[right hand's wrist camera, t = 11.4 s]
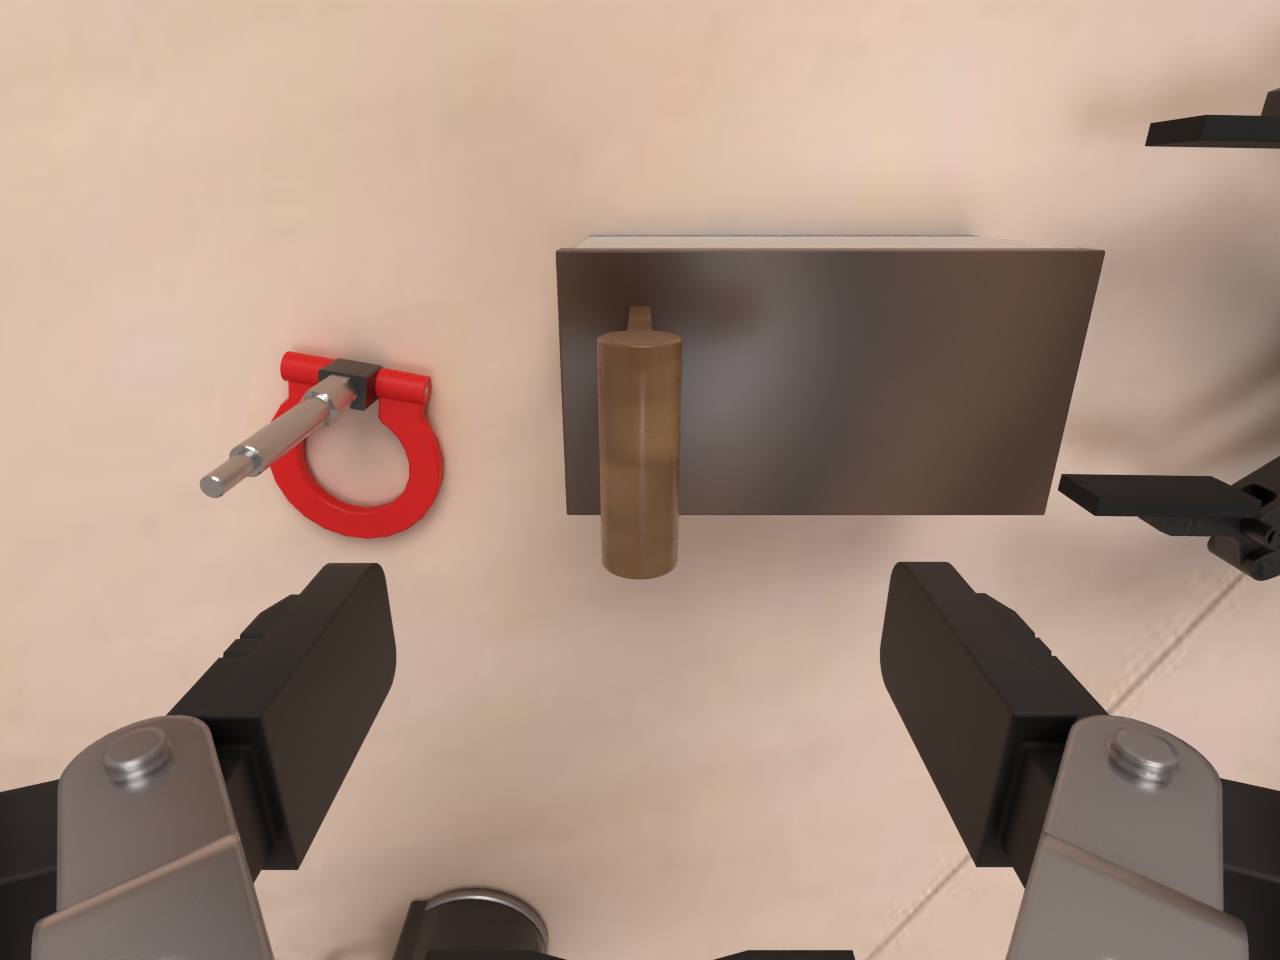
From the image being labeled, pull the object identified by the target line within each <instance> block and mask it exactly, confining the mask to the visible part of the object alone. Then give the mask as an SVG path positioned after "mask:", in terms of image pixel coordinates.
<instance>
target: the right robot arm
mask: <svg viewBox="0 0 1280 960" xmlns="http://www.w3.org/2000/svg"><path fill="white" fill-rule="evenodd" d="M223 654H224V655H223V658H218V659H217V661H216V662H215V663H214V664H213V665H212V666H211V667H210V668H209V669H208V670H207V671H206V673H205V674H204V675H203V676H202V677H201V678H200V679H199V680H198V681H197V682H196V683H195V685H194V686H193V687H192V688H191V689H190V690H189V691H188V692H187V693H186V694H185V695H184V696H183V698H182V699H181V700H180V701H179V702H178V703H177V704H176V705H175V706H174V707H173V708H172V710H171V711H170V712H169V713H168V714H167V715H166V716H160V717H155V718H150V719H146V720H142V721H139V722H136V723H133V724H130V725H128V726H125V727H122V728H120V729H118V730H116V731H114V732H112V733H110V734H108V735H106V736H104V737H102V738H101V739H99V740H97V741H96V742H94V743H93V744H91V745H90V746H88V747H87V748H86V749H84V750H83V751H82V752H81V753H80V754H78V755H77V756H76V757H75V758H74V759H73V760H72V761H71V762H70V763H69V765H68V766H67V767H66V769H65V770H64V771H63V773H62V775H61V777H60V779H58V780H54V781H50V782H45V783H40V784H36V785H31V786H27V787H22V788H17V789H13V790H8V791H4V792H0V960H275V959H274V956H273V952H272V948H271V945H270V941H269V938H268V934H267V931H266V927H265V923H264V920H263V916H262V913H261V909H260V905H259V902H258V898H257V895H256V891H255V888H254V882H255V880H256V878H257V877H258V875H259V873H260V871H261V870H298V869H299V867H300V865H301V863H302V861H303V859H304V857H305V855H306V853H307V851H308V849H309V847H310V845H311V843H312V841H313V839H314V837H315V835H316V833H317V832H318V830H319V828H320V826H321V824H322V822H323V820H324V818H325V816H326V814H327V812H328V810H329V808H330V806H331V804H332V802H333V800H334V798H335V796H336V794H337V792H338V790H339V788H340V786H341V784H342V783H343V781H344V779H345V777H346V775H347V773H348V771H349V769H350V767H351V765H352V763H353V761H354V759H355V757H356V755H357V753H358V751H359V749H360V747H361V745H362V743H363V741H364V739H365V737H366V736H367V734H368V732H369V730H370V728H371V726H372V724H373V722H374V720H375V718H376V716H377V714H378V712H379V710H380V708H381V706H382V704H383V702H384V700H385V698H386V696H387V694H388V692H389V690H390V688H391V686H392V683H393V679H394V675H395V668H396V645H395V638H394V632H393V625H392V618H391V612H390V605H389V599H388V592H387V585H386V579H385V574H384V571H383V569H382V567H381V566H380V565H379V564H378V563H328V564H326V565H325V566H324V567H323V568H322V569H321V570H320V571H319V573H318V574H317V575H316V576H315V577H314V578H313V580H312V581H311V582H310V583H309V584H308V585H307V586H306V588H305V589H304V590H303V591H302V592H301V593H300V595H289V596H288V597H286V598H284V599H283V600H281V601H279V602H278V603H276V604H274V605H273V606H271V607H269V608H268V609H266V610H264V611H263V612H261V613H260V614H259V615H258V616H257V617H256V618H255V619H254V620H253V621H252V622H251V624H250V625H249V626H248V627H247V628H246V629H245V630H244V631H243V632H242V633H241V634H240V639H236V640H235V641H234V642H233V643H232V644H231V645H230V646H229V648H228V649H227V650H226V651H225V652H224V653H223ZM880 664H881V672H882V677H883V680H884V683H885V686H886V688H887V691H888V693H889V694H890V696H891V698H892V700H893V702H894V704H895V706H896V708H897V710H898V712H899V714H900V716H901V718H902V720H903V722H904V724H905V726H906V728H907V730H908V732H909V734H910V736H911V738H912V740H913V742H914V744H915V746H916V748H917V750H918V752H919V754H920V756H921V758H922V760H923V762H924V764H925V766H926V768H927V770H928V772H929V774H930V776H931V778H932V780H933V782H934V784H935V786H936V788H937V790H938V792H939V794H940V796H941V798H942V800H943V802H944V804H945V806H946V808H947V810H948V812H949V813H950V815H951V817H952V819H953V821H954V823H955V825H956V827H957V829H958V831H959V833H960V835H961V837H962V839H963V841H964V843H965V845H966V847H967V849H968V851H969V853H970V855H971V857H972V859H973V861H974V863H975V865H976V867H1013V868H1014V870H1015V872H1016V874H1017V876H1018V877H1019V879H1020V881H1021V883H1022V884H1023V886H1024V888H1025V891H1024V895H1023V898H1022V902H1021V905H1020V909H1019V913H1018V916H1017V920H1016V923H1015V927H1014V931H1013V934H1012V938H1011V941H1010V945H1009V948H1008V952H1007V956H1006V959H1005V960H1280V791H1277V790H1272V789H1268V788H1263V787H1259V786H1254V785H1249V784H1245V783H1240V782H1235V781H1231V780H1226V779H1222V778H1220V777H1219V775H1218V773H1217V771H1216V770H1215V769H1214V767H1213V766H1212V765H1211V763H1210V762H1209V761H1208V760H1207V759H1206V758H1205V757H1204V756H1203V755H1202V754H1200V753H1199V752H1198V751H1197V750H1196V749H1194V748H1193V747H1192V746H1190V745H1189V744H1187V743H1186V742H1184V741H1183V740H1181V739H1179V738H1178V737H1176V736H1174V735H1172V734H1170V733H1168V732H1166V731H1164V730H1162V729H1160V728H1158V727H1155V726H1152V725H1150V724H1147V723H1144V722H1141V721H1138V720H1134V719H1130V718H1125V717H1120V716H1112V715H1109V714H1108V713H1107V712H1106V711H1105V710H1104V709H1103V708H1102V706H1101V705H1100V704H1099V703H1098V702H1097V701H1096V700H1095V699H1094V698H1093V697H1092V695H1091V694H1090V693H1089V692H1088V691H1087V690H1086V689H1085V688H1084V687H1083V686H1082V685H1081V683H1080V682H1079V681H1078V680H1077V679H1076V678H1075V677H1074V676H1073V675H1072V674H1071V672H1070V671H1069V670H1068V669H1067V668H1066V667H1065V666H1064V665H1063V664H1062V663H1061V661H1060V660H1059V659H1058V658H1057V657H1056V656H1052V655H1051V650H1050V649H1049V648H1048V647H1047V646H1046V645H1045V644H1044V643H1043V642H1042V641H1041V639H1040V638H1035V633H1034V632H1033V631H1032V630H1031V629H1030V627H1029V626H1028V625H1027V624H1026V623H1025V622H1024V621H1023V620H1022V619H1021V618H1020V616H1019V615H1018V614H1017V613H1016V612H1015V611H1013V610H1012V609H1010V608H1008V607H1007V606H1005V605H1003V604H1002V603H1000V602H998V601H997V600H995V599H993V598H992V597H990V596H988V595H987V594H985V593H975V592H974V591H973V589H972V588H971V587H970V586H969V585H968V584H967V582H966V581H965V580H964V579H963V578H962V576H961V575H960V574H959V573H958V572H957V571H956V569H955V568H954V567H953V566H952V565H951V564H950V563H948V562H898V563H897V564H896V565H895V566H894V568H893V570H892V574H891V579H890V585H889V592H888V599H887V605H886V612H885V619H884V626H883V632H882V639H881V646H880ZM547 946H548V935H547V930H546V927H545V925H544V923H543V921H542V920H541V918H540V917H539V916H538V914H537V913H536V912H535V911H534V910H533V909H532V908H530V907H529V906H528V905H526V904H525V903H523V902H522V901H520V900H518V899H516V898H514V897H512V896H510V895H507V894H504V893H501V892H497V891H493V890H487V889H461V890H455V891H450V892H447V893H444V894H441V895H439V896H437V897H434V898H433V899H431V900H429V901H425V902H420V901H413V902H411V904H410V907H409V910H408V913H407V917H406V920H405V923H404V926H403V929H402V932H401V935H400V938H399V941H398V944H397V947H396V950H395V953H394V956H393V960H565V959H562V958H558V957H554V956H551V955H547ZM715 960H855V958H854V954H853V950H747V951H744V952H740V953H737V954H733V955H729V956H726V957H722V958H718V959H715Z"/></svg>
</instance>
